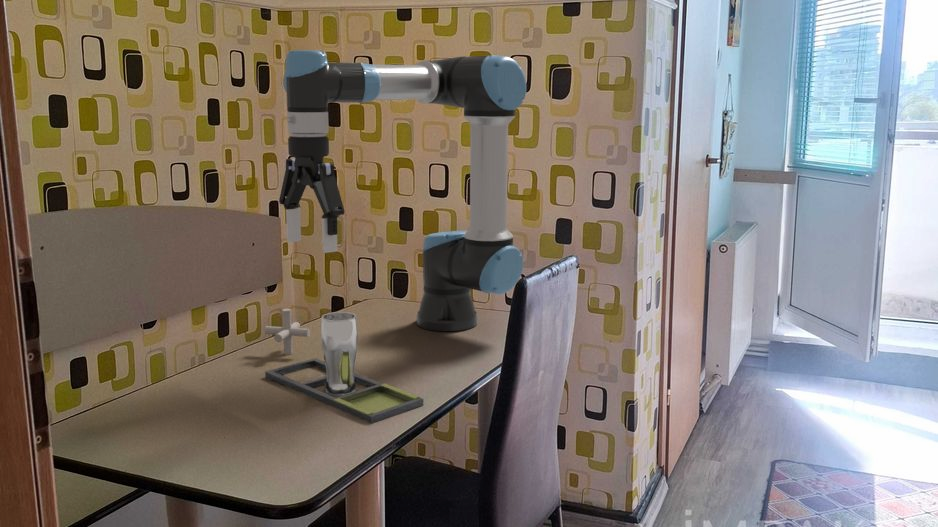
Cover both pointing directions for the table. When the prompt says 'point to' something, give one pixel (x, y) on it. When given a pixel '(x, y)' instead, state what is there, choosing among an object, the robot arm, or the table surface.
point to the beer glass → (339, 351)
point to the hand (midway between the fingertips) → (311, 246)
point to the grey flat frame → (362, 403)
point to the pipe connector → (287, 331)
